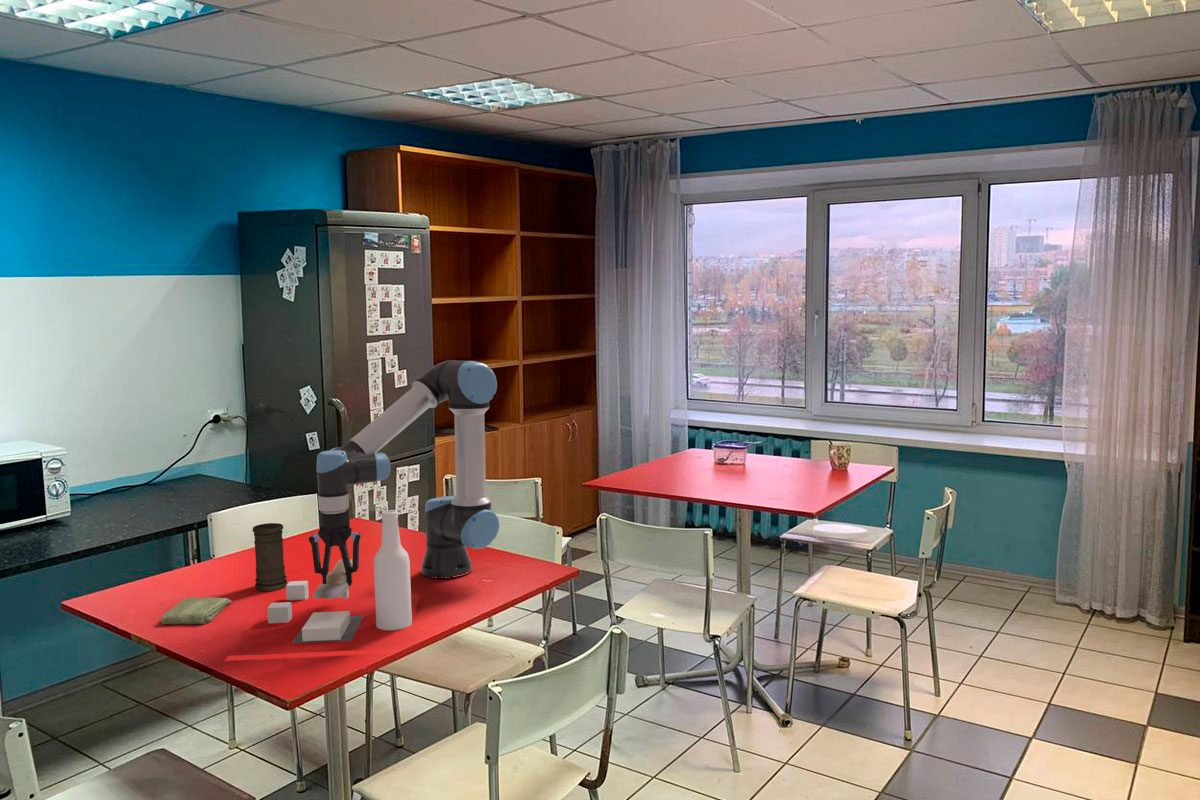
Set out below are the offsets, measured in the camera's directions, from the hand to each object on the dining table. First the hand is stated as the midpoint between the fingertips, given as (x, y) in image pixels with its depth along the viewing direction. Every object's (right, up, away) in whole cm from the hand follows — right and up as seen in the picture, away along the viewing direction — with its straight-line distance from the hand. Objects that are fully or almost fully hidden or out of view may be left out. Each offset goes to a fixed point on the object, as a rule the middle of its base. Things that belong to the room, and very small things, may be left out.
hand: (338, 598), depth 243 cm
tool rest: (-14, -5, +4) cm, 16 cm away
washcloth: (-39, -6, +4) cm, 40 cm away
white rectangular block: (+1, -3, -8) cm, 9 cm away
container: (-27, -3, +27) cm, 39 cm away
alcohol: (+17, -6, -9) cm, 20 cm away
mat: (+1, -6, -11) cm, 13 cm away
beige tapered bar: (0, +4, 0) cm, 4 cm away
